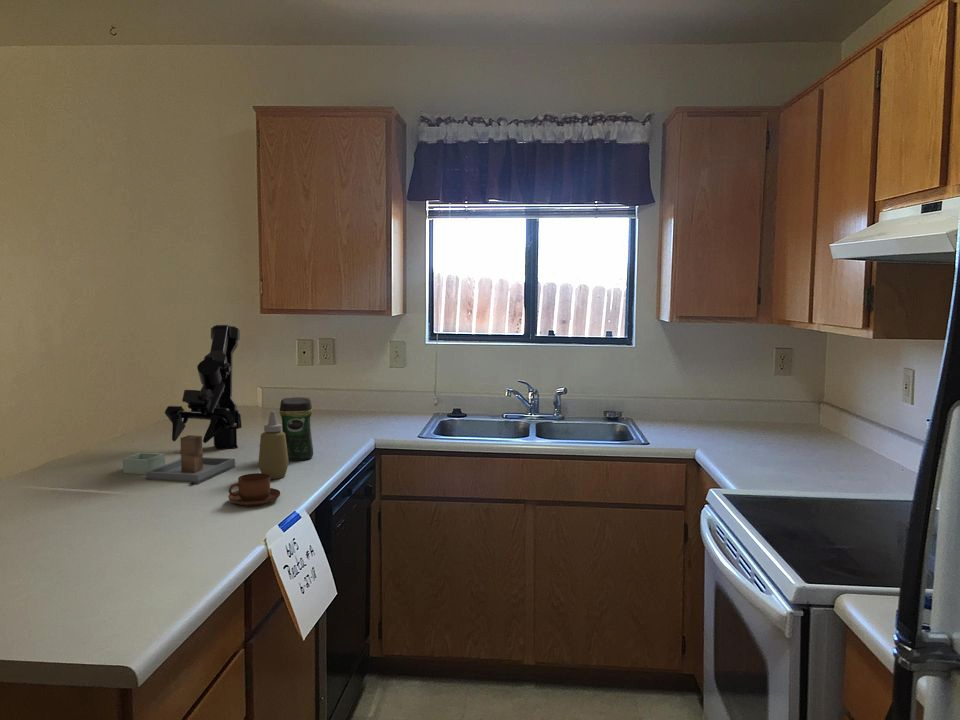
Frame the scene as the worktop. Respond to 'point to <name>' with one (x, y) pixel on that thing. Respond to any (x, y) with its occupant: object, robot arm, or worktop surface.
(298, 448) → the coffee jar
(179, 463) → the tray
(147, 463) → the mint green open box
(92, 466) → the worktop surface
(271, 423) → the squeeze bottle
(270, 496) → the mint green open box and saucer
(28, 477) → the worktop surface
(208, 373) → the robot arm
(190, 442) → the square block
